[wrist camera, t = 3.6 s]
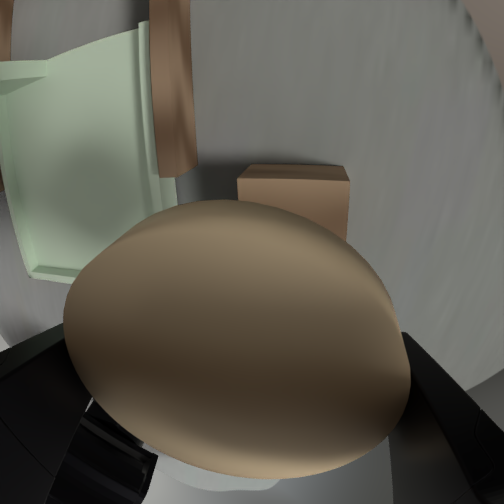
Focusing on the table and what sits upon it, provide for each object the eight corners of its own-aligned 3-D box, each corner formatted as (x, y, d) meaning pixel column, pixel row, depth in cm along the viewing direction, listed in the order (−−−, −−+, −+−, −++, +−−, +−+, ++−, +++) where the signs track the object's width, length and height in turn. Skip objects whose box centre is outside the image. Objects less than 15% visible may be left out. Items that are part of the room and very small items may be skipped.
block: (338, 250, 19) (341, 281, 16) (254, 246, 20) (242, 276, 17) (343, 166, 17) (350, 181, 13) (251, 164, 17) (236, 178, 14)
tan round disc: (361, 444, 9) (362, 484, 8) (137, 414, 10) (120, 447, 9) (431, 210, 5) (463, 244, 4) (66, 202, 7) (22, 227, 5)
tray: (187, 280, 21) (105, 408, 12) (43, 266, 24) (-43, 340, 14) (165, 26, 14) (15, -16, 5) (10, 81, 17) (-107, 106, 7)
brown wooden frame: (197, 165, 18) (177, 177, 15) (15, 182, 21) (-10, 194, 18) (190, -94, 10) (172, -114, 8) (8, -11, 13) (-16, -14, 11)
